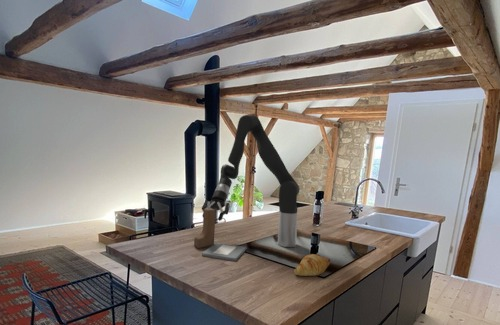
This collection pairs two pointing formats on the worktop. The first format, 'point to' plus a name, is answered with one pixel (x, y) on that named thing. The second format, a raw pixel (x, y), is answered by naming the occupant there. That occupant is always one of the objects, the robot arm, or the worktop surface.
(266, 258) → the worktop surface
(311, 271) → the croissant
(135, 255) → the worktop surface
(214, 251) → the socket board
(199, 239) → the wooden block
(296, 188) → the robot arm
